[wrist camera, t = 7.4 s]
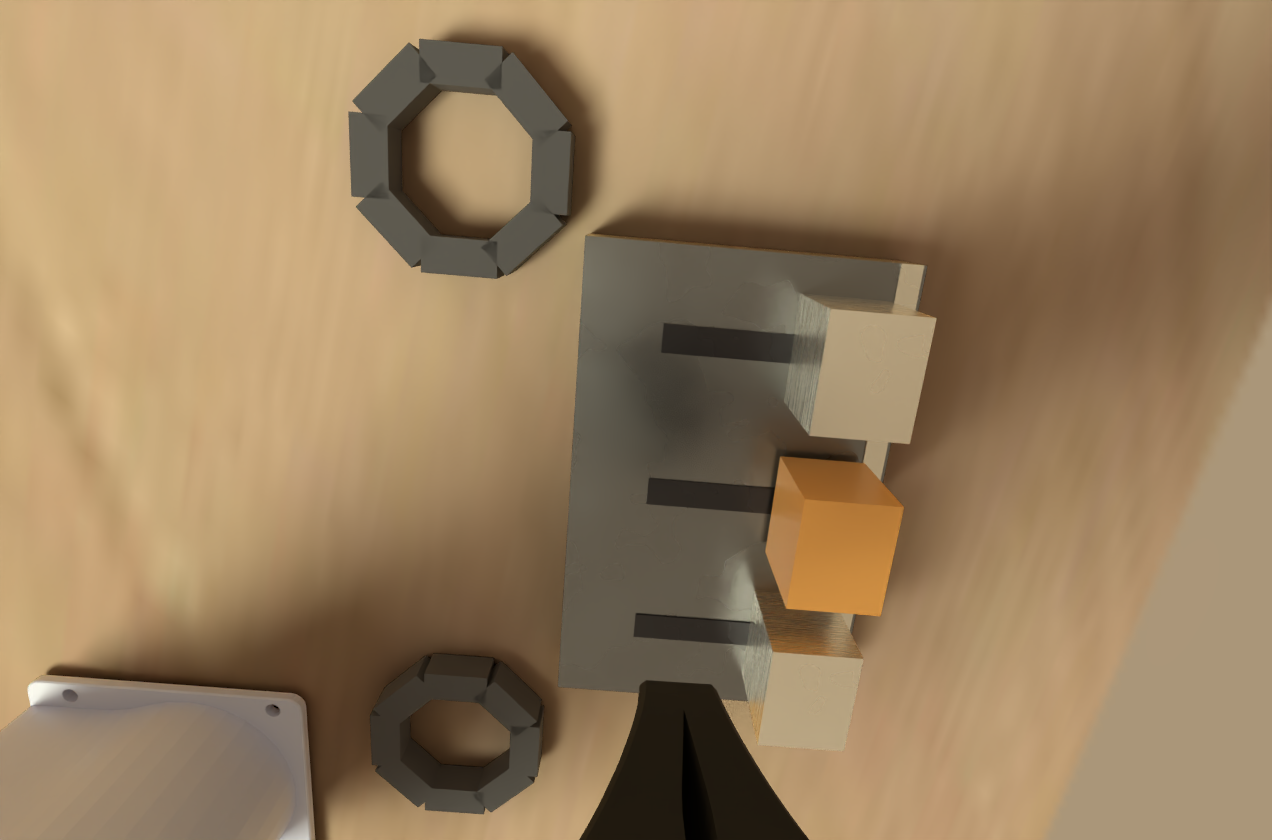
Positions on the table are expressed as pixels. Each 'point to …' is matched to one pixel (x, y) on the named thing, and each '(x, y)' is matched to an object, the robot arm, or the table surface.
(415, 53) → the coil
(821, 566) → the orange breaker switch
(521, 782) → the coil
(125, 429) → the table surface
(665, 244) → the breaker strip
